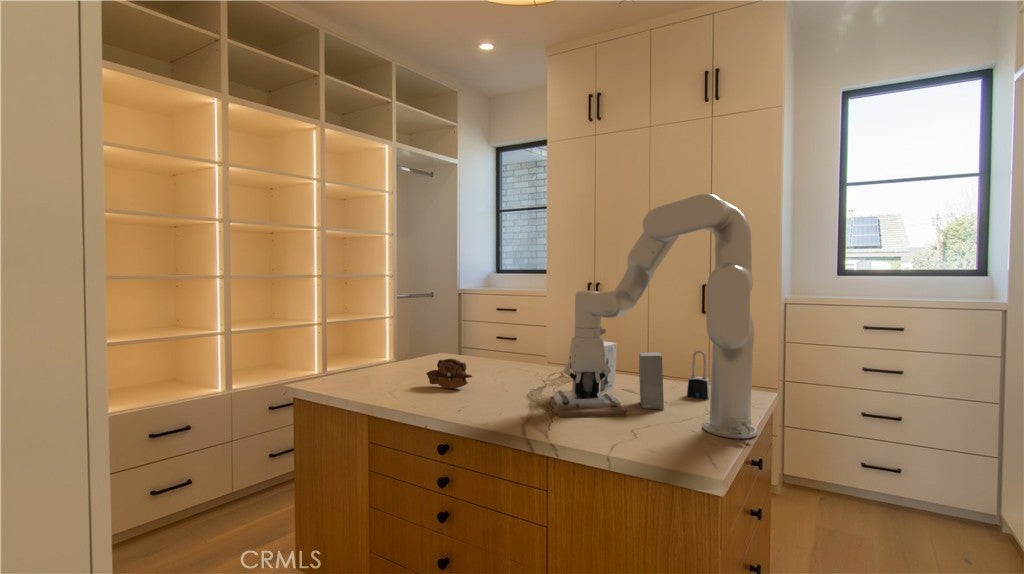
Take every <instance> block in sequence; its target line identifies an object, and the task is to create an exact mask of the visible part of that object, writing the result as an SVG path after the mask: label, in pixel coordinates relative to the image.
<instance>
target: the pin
mask: <svg viewBox="0 0 1024 574" xmlns="http://www.w3.org/2000/svg"><path fill="white" fill-rule="evenodd" d="M580 383H581V397H580V398H594V372H584V373H581V377H580Z"/></svg>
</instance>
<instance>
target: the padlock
mask: <svg viewBox="0 0 1024 574" xmlns="http://www.w3.org/2000/svg"><path fill="white" fill-rule="evenodd" d="M697 354H701V355H702V356H703V372H702V373H703V374H702V376H695V365H696V364H695V362H696V355H697ZM691 366H692V367H691V369H692V370H691V376H690V377H689V378H688V380H687V391H686V398H690V397H692V398H691V399H696V398H698V400H706V399H708V400H710V394H711V387H710V379H709V378H708V377H707V376H706V375H707V371H706V370H707V356H706V353H705V352H704V351H702V350H695V351H694V352H693V354H692V365H691Z"/></svg>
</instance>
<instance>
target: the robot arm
mask: <svg viewBox="0 0 1024 574" xmlns="http://www.w3.org/2000/svg"><path fill="white" fill-rule="evenodd" d="M642 229H643V232H642V233H641V235H640V236H639V237H638V239H637V240H636V242H635V244H634V245H633V247H632V248H631V250H630V251H629V252H628V254H627V267H626V270H625V273H624V275H623V277H622V279H621V280H620V282H619V283H618V284H617V286H616V287H615V289H614V290H610V291H608V290H607V291H600V292H599V291H596V290H579V291H577V292H576V293H575V295H574V296H575V297H574V336H572V337H571V340H570V345H569V355H568V356H569V357H568V362H567V364H566V365H565V367H564V369H563V373H564V374H565V375H566V376H568V377H570V378H571V379H572V381H573V380H574V381H575V393H577V395H578V396H579V397H581V383H580V377H581V373H584V372H594V396H597V393H599V383H600V381H601V380H602V379H603V378H604V377H605V376H606V375H607V374H609V373H610V372H611V370H610V368H609V367H608V365H607V364H606V362H605V349H604V338H603V337H602V335H605V334H606V333H607V332H606V328H604V329H603V328H602V318H606V319H615V318H618V317H621V316H625V315H627V314H628V313H630V311H632V310H633V308H634V307H635V306H636V305H637V303H638V301H640V299H641V297H642V296H643V294H644V293H645V291H646V289H647V288H648V286H649V284H650V282H651V281H652V278H653V277H654V274H655V272H656V270H657V269H658V267H659V266H660V264H661V263H662V261H663V260H664V259H665V257H666V256H667V254H668V252H669V251H670V249H672V248H673V246H674V244H675V242H677V240H678V239H679V236H681V235H686V234H690V233H694V232H697V231H701V230H704V231H709V232H711V233H712V234H713V235H714V239H715V240H714V242H715V243H714V269H713V270H712V271H711V273H710V274H709V276H708V279H707V282H706V332H707V333H706V334H707V336H708V338H709V340H710V341H711V342H712V348H711V362H710V363H711V368H710V398H709V400H710V401H709V404H710V407H709V419H708V420H705V421H703V425H702V428H703V430H704V431H706V432H707V433H710V434H712V435H715V436H719V437H724V438H729V439H740V440H741V439H750V438H754V437H756V436H757V435H758V429H757V428H756V427H755V426H754V425H752V419H751V418H752V417H751V415H752V385H753V384H752V382H753V357H754V344H755V341H754V339H755V324H754V323H755V322H754V319H753V318H752V316H751V292H752V290H753V286H754V284H753V283H754V280H753V271H752V269H753V268H752V267H753V264H752V263H753V256H752V255H753V254H752V234H751V233H752V232H751V227H750V224H749V222H748V219H747V217H746V216H745V215H744V213H743V212H742V211H741V210H740V209H738V208H737V207H736V206H734V205H732V204H731V203H728V202H727V201H725V200H724V199H721V198H720V197H719V196H717V195H715V194H713V193H712V194H711V193H700V194H696V195H692V196H690V197H686V198H683V199H680V200H676V201H673V202H669V203H667V204H662V205H659V206H657V207H654V208H652V209H650V210H649V211H648V212H647V213H646V214H645V216H644V217H643V219H642ZM571 371H572V372H571ZM573 372H575V375H574V374H573ZM599 372H601V373H599Z"/></svg>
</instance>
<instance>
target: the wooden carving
mask: <svg viewBox="0 0 1024 574" xmlns="http://www.w3.org/2000/svg"><path fill="white" fill-rule="evenodd" d="M436 367H437V369H432V370H429V371H428V372H426V376H427V378H428V380H429V382H428V383H429V384H430V385H438V386H440V388H441V387H442V388H444V389H459V388H462V387H465V386H466V385H468V384H469V382H468V381H467V379H469V378H473V375H472V374H467V372H466V370H467V364H466V362H463V361H461V360H459V359H456V358H446V359H438V361H437V363H436Z"/></svg>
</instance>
